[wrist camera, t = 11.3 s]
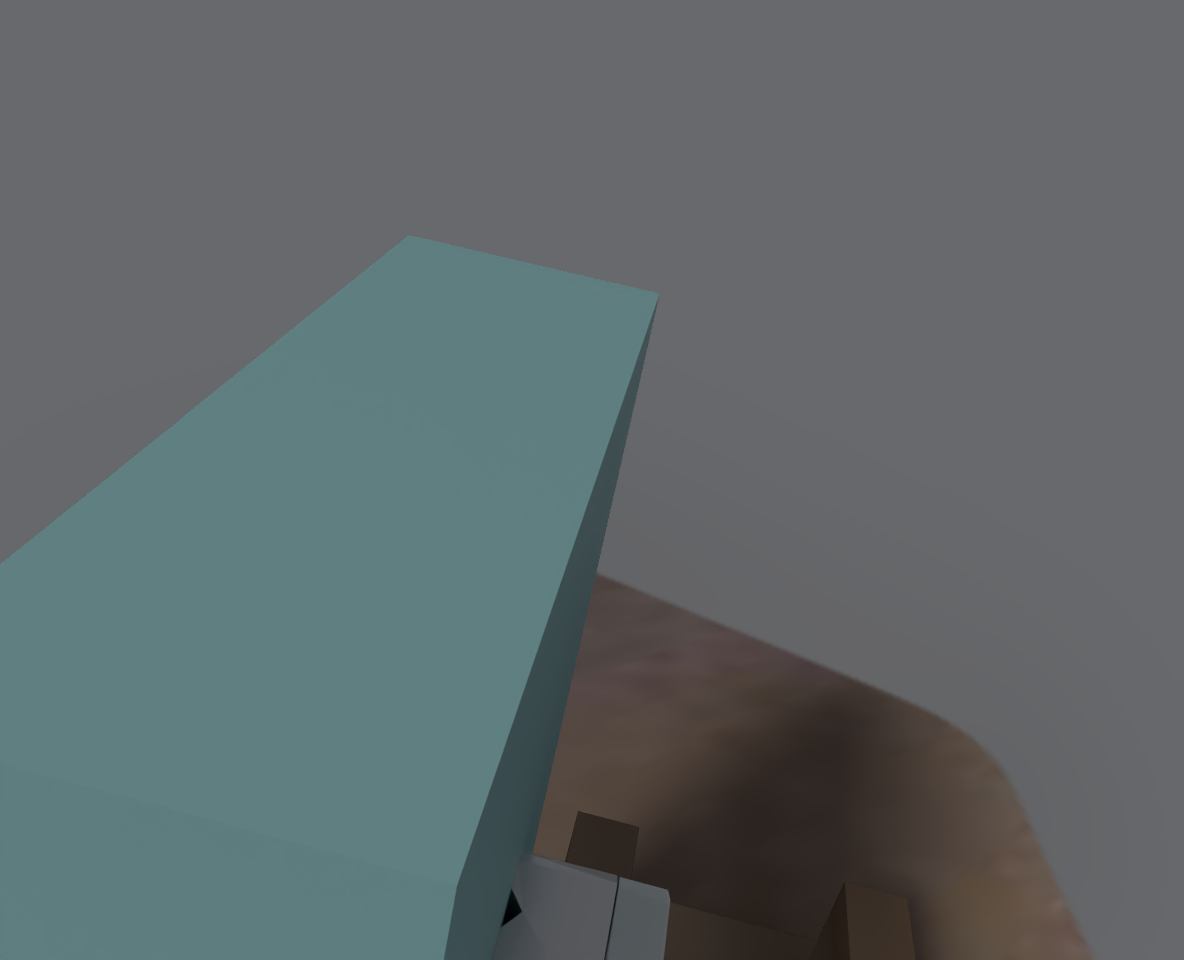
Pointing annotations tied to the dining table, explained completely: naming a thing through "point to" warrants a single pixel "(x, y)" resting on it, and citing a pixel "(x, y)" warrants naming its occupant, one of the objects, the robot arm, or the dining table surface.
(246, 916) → the light teal rectangular block
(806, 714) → the dining table surface
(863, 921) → the walnut rack
